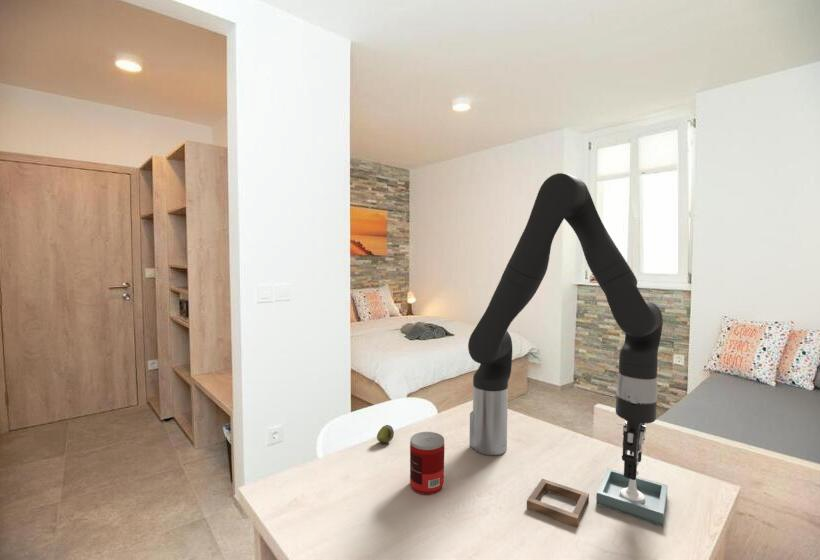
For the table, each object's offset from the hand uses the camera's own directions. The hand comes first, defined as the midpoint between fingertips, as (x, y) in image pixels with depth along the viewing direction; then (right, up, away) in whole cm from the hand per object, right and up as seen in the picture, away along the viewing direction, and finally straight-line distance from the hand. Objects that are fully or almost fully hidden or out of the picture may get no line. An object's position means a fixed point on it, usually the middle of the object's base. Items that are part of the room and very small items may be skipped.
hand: (632, 469), depth 87 cm
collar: (-16, -7, -1) cm, 18 cm away
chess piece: (0, -7, 0) cm, 7 cm away
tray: (0, -7, 0) cm, 7 cm away
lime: (-54, -5, +27) cm, 61 cm away
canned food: (-44, -7, +6) cm, 45 cm away
